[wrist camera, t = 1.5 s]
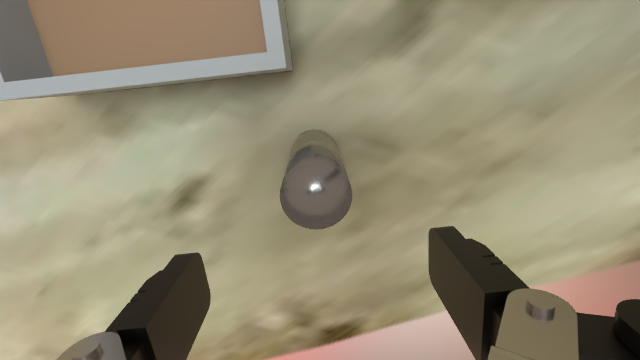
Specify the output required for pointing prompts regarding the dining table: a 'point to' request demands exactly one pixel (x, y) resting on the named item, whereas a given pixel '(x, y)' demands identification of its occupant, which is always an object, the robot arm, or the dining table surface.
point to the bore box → (135, 44)
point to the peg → (315, 182)
